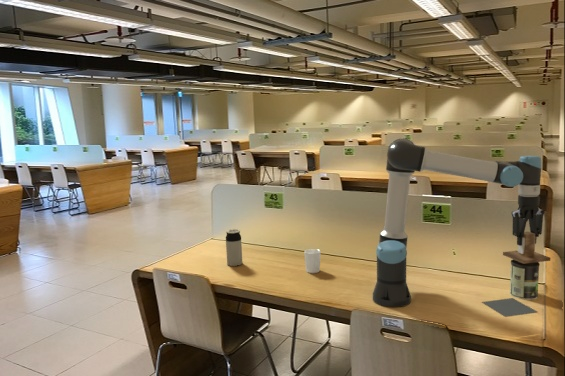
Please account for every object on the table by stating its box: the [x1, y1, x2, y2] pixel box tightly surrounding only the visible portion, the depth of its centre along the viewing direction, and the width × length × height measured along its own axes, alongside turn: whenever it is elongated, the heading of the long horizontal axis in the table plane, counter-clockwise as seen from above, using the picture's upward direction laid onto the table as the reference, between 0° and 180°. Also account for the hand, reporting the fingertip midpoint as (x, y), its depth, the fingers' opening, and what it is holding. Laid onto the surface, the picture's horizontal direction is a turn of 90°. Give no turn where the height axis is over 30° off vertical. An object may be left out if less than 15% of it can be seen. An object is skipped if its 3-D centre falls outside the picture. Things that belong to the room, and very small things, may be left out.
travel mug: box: [225, 228, 243, 267], centre depth 241 cm, size 8×8×18 cm
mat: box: [481, 297, 538, 318], centre depth 177 cm, size 14×14×1 cm
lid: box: [502, 231, 551, 264], centre depth 185 cm, size 12×12×10 cm
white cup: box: [303, 248, 321, 274], centre depth 227 cm, size 8×8×10 cm
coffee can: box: [509, 259, 540, 301], centre depth 187 cm, size 10×10×14 cm
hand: (526, 252), depth 186 cm, fingers closed on lid, 4 cm apart
